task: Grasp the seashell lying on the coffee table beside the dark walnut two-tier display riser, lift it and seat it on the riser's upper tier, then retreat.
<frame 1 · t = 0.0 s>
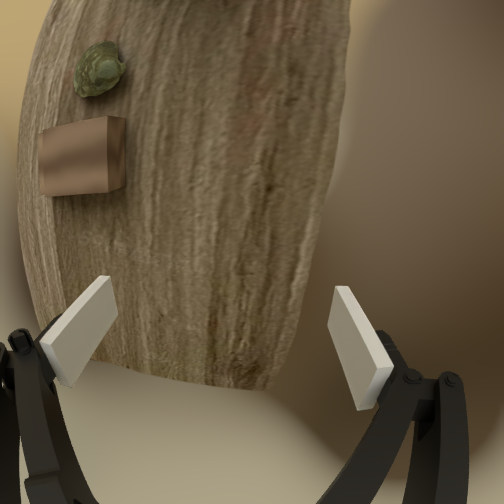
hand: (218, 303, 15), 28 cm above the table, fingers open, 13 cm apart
seashell: (103, 69, 33), on the table
riser: (80, 157, 38), on the table
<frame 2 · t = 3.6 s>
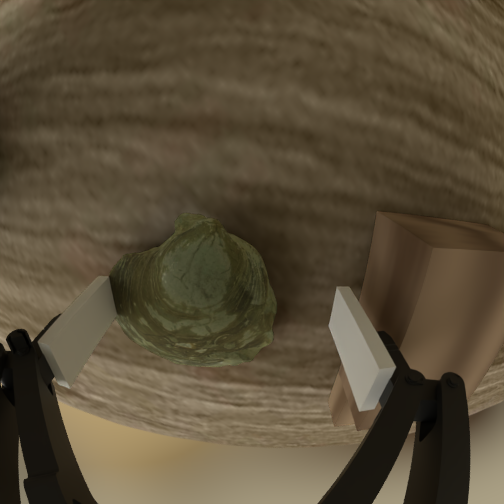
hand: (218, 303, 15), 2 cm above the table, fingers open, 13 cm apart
seashell: (189, 290, 17), on the table, touching gripper
riser: (410, 328, 19), on the table
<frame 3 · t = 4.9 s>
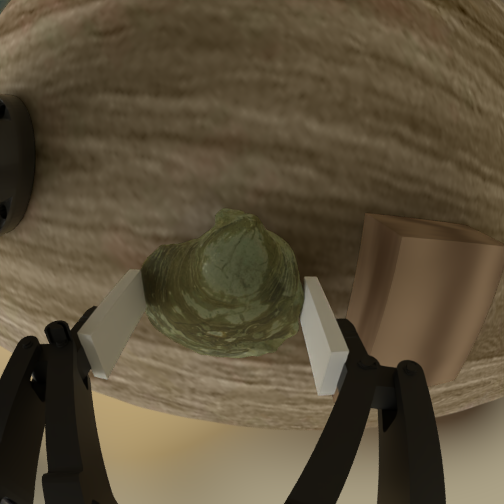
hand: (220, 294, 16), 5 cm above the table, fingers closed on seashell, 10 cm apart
seashell: (218, 283, 19), point 3 cm above the table, touching gripper
riser: (399, 315, 22), on the table
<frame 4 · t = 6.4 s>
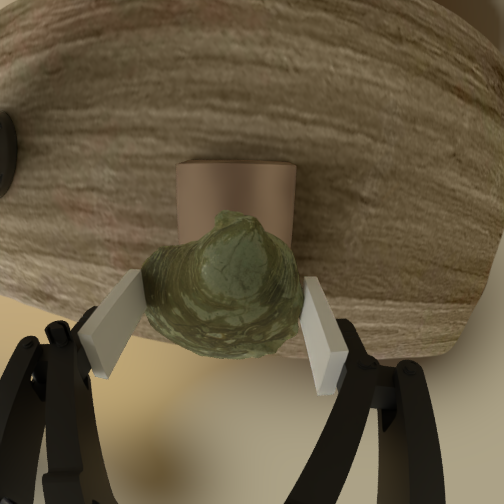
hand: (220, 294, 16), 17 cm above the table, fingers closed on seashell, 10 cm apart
seashell: (217, 284, 18), point 15 cm above the table, touching gripper
riser: (236, 236, 33), on the table
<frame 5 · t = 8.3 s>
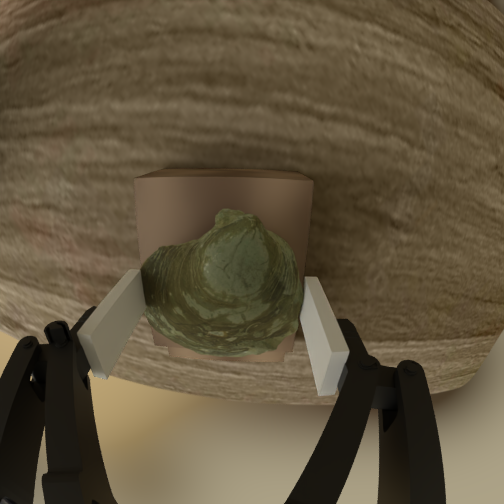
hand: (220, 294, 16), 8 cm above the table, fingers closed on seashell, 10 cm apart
seashell: (217, 283, 19), point 6 cm above the table, touching gripper, riser
riser: (227, 271, 25), on the table
when the fingers open (8 cm above the table, at t = 8.6 s): seashell stays where it is, resting on riser.
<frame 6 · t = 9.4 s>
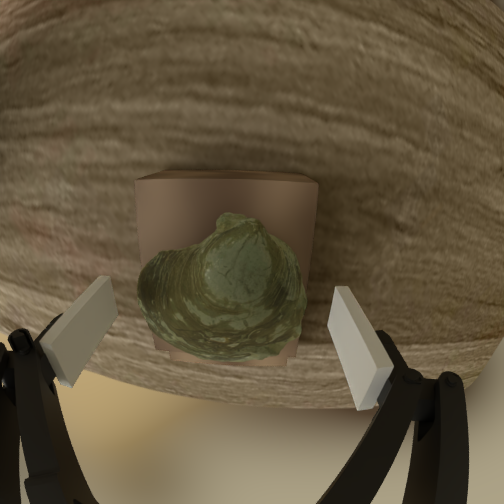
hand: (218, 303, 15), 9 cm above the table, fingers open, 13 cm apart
seashell: (218, 287, 18), point 6 cm above the table, touching riser
riser: (229, 274, 24), on the table
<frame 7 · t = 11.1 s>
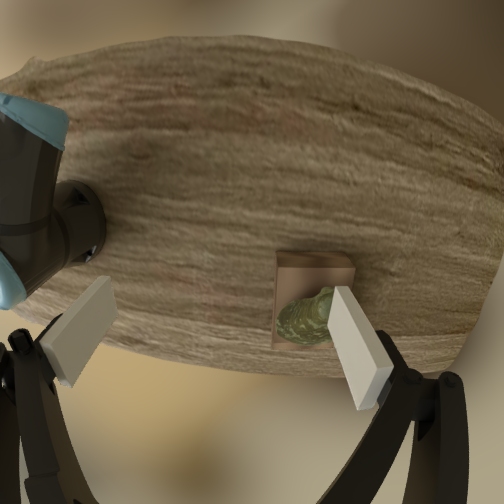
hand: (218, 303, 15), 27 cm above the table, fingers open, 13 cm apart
seashell: (310, 311, 40), point 6 cm above the table, touching riser
riser: (305, 301, 46), on the table
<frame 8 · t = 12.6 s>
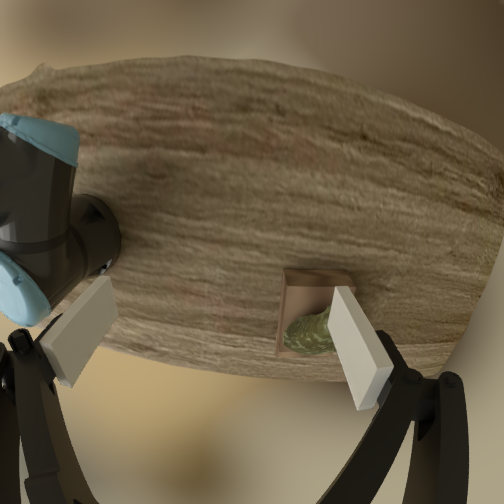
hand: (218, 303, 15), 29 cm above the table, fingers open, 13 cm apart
seashell: (314, 325, 43), point 6 cm above the table, touching riser
riser: (308, 314, 49), on the table
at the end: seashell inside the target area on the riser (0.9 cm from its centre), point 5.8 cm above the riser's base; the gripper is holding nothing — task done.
